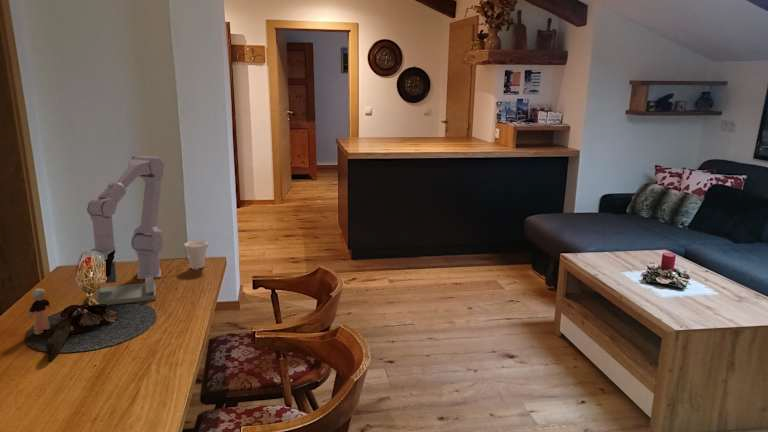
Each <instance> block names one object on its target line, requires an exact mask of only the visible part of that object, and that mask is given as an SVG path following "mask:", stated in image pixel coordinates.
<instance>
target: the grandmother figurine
mask: <svg viewBox="0 0 768 432" xmlns="http://www.w3.org/2000/svg"><path fill="white" fill-rule="evenodd" d="M45 294H46V291H45V289H43V288H39V287H38V288H37V287H36V289H33V291H32V292H31V296H32V298H33V299H34V300H35V301H34V302H33V303H32V304H31V306H30V307H29V308H30V309H29V310H28V315H27V319H31V318H33V315H34V318H33V328H34V331H33V334H35V335H42V334H43V333H44V331H43V330H47V331H49V330H50V329H51V326H50V321H49V320H50V319H49V317H48V313H47V310H46V309H51V308H52V305H51V303H50V301H49V300H48V299H45ZM46 307H47V308H46ZM48 329H49V330H48ZM41 333H42V334H41Z"/></svg>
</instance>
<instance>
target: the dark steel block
mask: <svg viewBox="0 0 768 432" xmlns="http://www.w3.org/2000/svg"><path fill="white" fill-rule="evenodd" d="M116 282H117V261H115V260H114V261H113V262H112V266H111V275H110V277H107V280H106V283H105V284H113V283H116Z"/></svg>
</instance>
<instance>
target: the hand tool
mask: <svg viewBox="0 0 768 432" xmlns="http://www.w3.org/2000/svg"><path fill="white" fill-rule="evenodd" d="M68 320H69V319H62V320H59V322H58V323H57V326H58V327H57V328H56V329H54V330H53V335H52V336H51V337H49V338H48V339H47V341H46V344H45V349H46V355H47V359H48V362H52V361H53V360H54V359H55V358H57V356H58V355H59V354H60V353H61V349H62V347H63V345H64V344H65V342H66V340H67V339H68V337H69V336H70V334H69V333H71V332H70V328H71V325H70V323H69V322H68Z"/></svg>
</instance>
